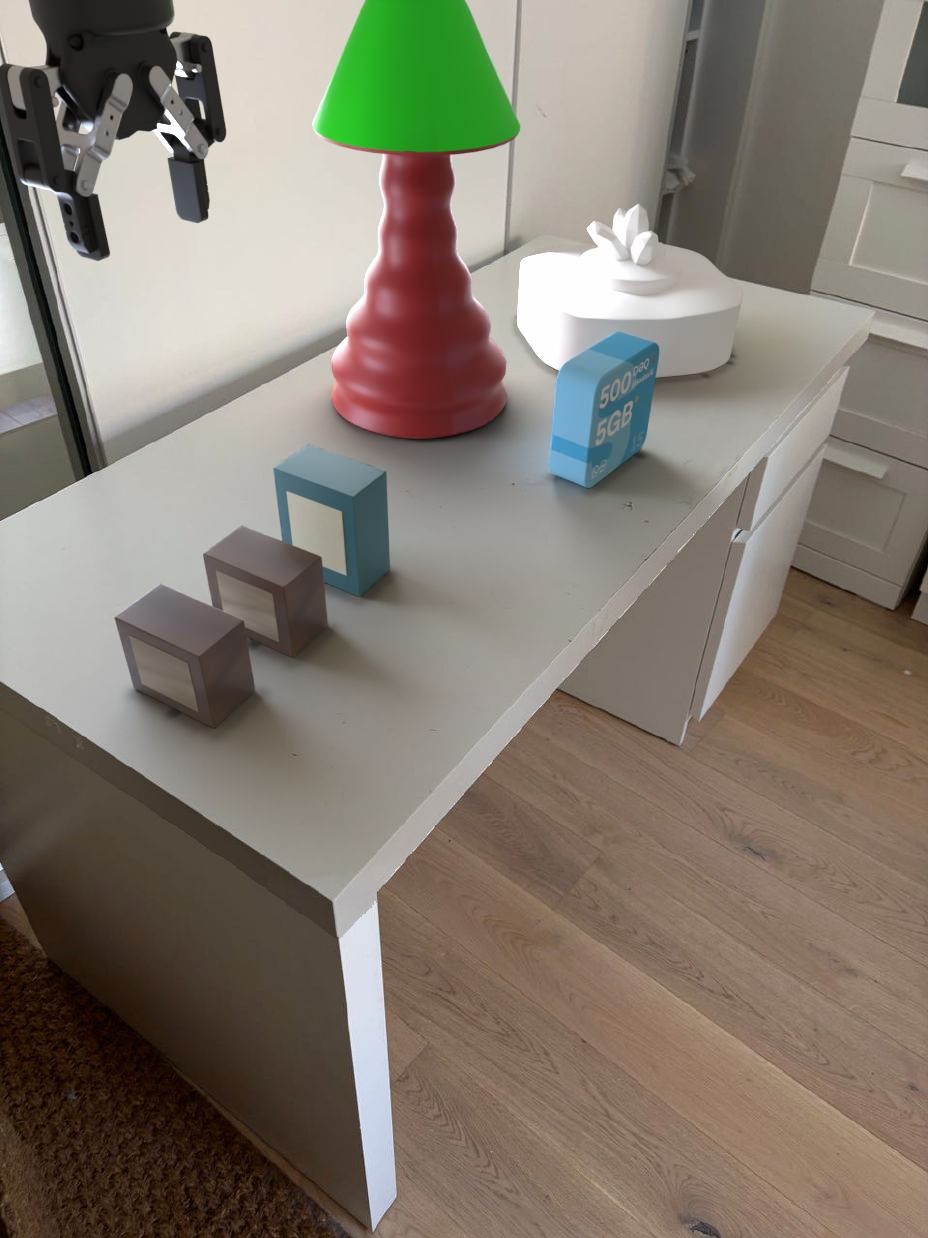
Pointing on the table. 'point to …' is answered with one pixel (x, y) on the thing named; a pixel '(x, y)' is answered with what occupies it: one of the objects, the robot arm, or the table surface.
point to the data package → (602, 408)
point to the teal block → (336, 515)
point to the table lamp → (417, 219)
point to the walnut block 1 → (186, 654)
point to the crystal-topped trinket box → (628, 298)
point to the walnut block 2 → (268, 588)
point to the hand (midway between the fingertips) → (146, 237)
